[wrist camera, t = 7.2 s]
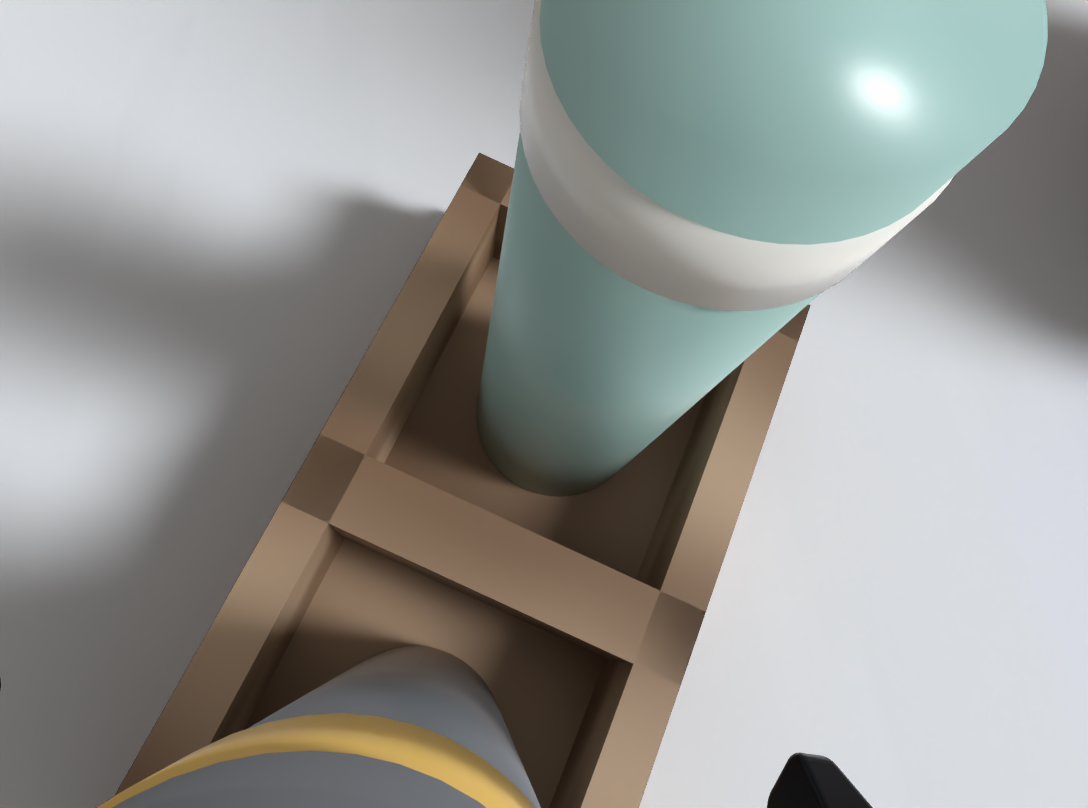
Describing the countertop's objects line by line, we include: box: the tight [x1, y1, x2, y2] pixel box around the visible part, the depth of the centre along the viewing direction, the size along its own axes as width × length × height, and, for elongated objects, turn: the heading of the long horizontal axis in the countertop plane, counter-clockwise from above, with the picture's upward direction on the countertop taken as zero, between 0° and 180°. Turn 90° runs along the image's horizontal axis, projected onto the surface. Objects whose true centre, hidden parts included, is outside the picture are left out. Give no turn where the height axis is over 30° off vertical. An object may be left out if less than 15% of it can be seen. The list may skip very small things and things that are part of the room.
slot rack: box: [115, 153, 810, 808], centre depth 16 cm, size 17×9×4 cm, turn 156°
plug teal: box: [476, 0, 1048, 497], centre depth 12 cm, size 4×4×13 cm
